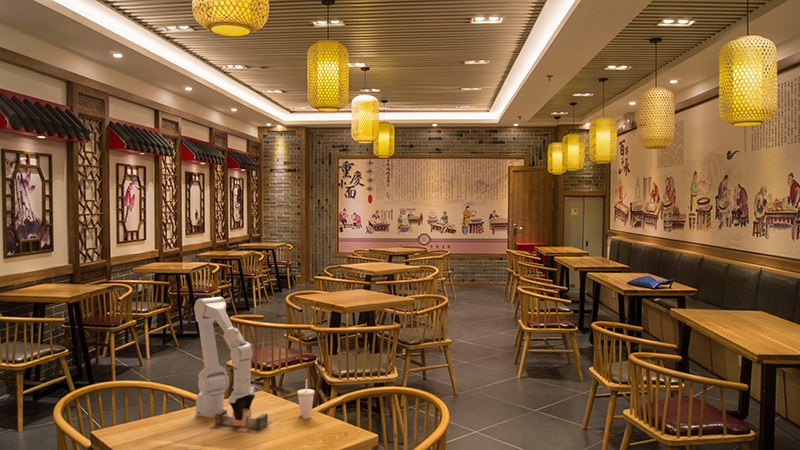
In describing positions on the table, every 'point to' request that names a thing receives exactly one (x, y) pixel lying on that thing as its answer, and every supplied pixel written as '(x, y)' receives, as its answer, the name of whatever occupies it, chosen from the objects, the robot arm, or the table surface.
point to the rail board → (253, 426)
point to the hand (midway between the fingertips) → (242, 417)
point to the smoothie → (305, 402)
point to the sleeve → (244, 418)
